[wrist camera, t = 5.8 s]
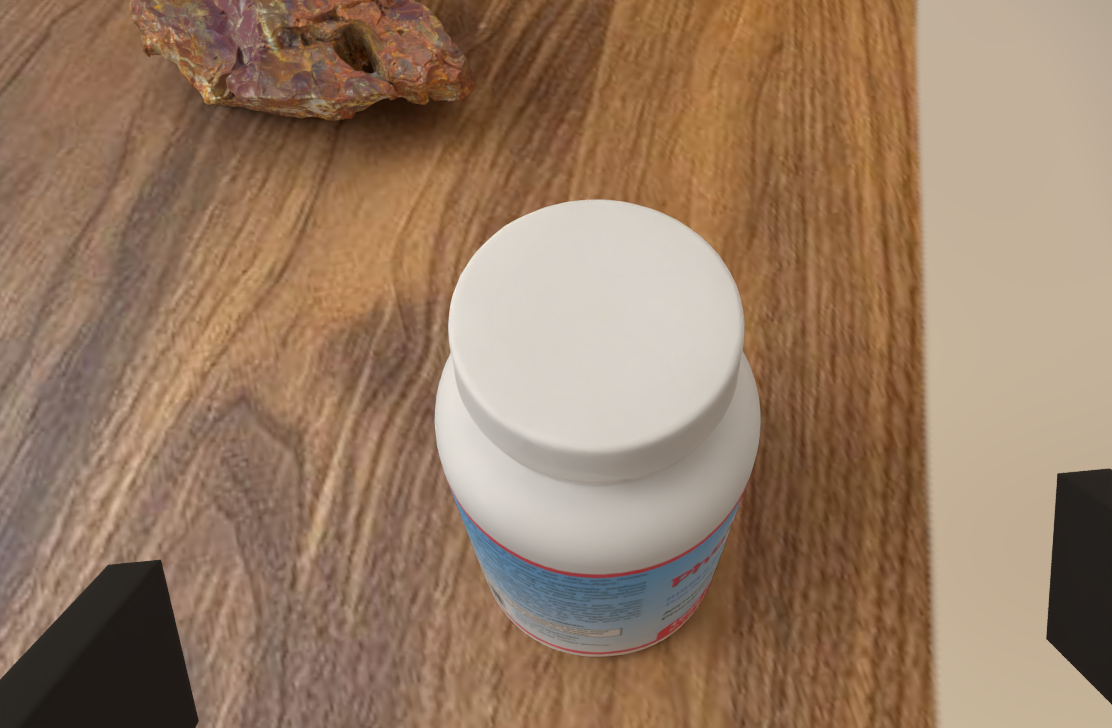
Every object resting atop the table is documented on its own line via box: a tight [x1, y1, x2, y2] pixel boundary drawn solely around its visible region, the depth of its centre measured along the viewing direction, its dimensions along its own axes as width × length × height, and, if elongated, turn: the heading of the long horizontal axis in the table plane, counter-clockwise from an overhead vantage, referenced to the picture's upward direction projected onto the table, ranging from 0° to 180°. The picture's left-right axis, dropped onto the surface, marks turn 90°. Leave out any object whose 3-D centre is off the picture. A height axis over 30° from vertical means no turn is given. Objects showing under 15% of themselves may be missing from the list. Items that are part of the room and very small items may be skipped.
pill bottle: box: [435, 200, 761, 657], centre depth 18 cm, size 6×6×11 cm
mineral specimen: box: [130, 0, 475, 121], centre depth 30 cm, size 12×8×7 cm
